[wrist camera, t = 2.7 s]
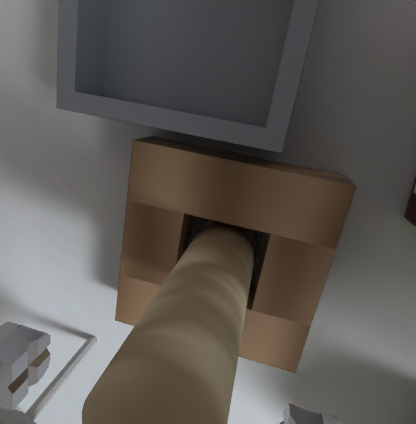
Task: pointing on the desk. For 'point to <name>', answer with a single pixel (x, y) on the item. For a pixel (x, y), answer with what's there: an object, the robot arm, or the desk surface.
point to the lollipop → (46, 390)
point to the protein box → (412, 207)
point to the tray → (186, 64)
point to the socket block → (239, 216)
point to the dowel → (183, 339)
